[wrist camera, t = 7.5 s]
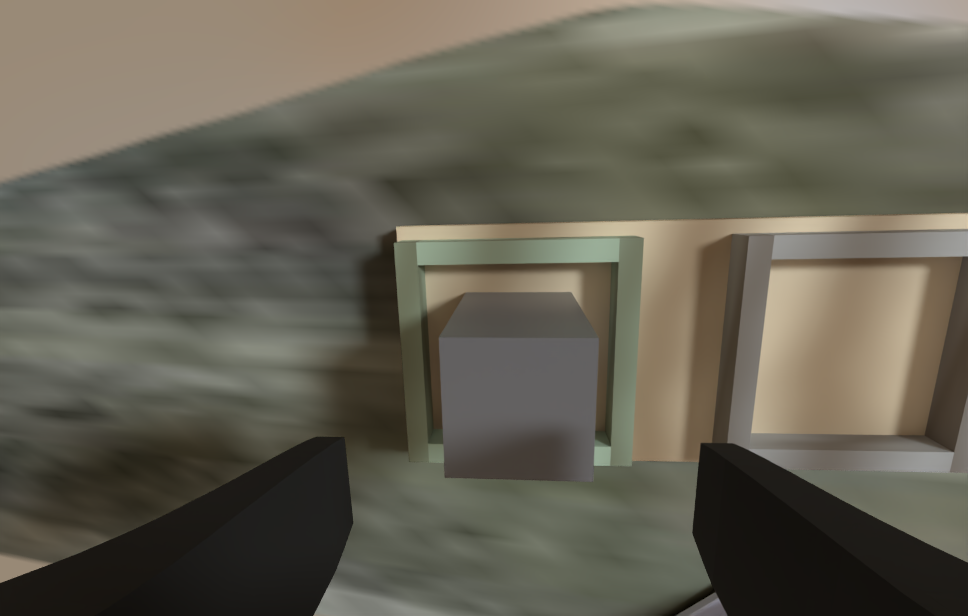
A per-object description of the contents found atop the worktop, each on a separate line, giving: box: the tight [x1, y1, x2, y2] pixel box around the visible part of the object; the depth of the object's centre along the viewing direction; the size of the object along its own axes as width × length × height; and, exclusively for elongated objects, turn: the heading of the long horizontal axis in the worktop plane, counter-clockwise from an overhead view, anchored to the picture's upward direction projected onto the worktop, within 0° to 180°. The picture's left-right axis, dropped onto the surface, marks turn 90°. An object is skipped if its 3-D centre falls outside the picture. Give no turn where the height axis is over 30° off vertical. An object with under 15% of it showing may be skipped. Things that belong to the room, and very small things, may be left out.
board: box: [394, 213, 968, 473], centre depth 17 cm, size 21×10×2 cm, turn 91°
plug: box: [439, 292, 599, 482], centre depth 15 cm, size 4×4×6 cm
